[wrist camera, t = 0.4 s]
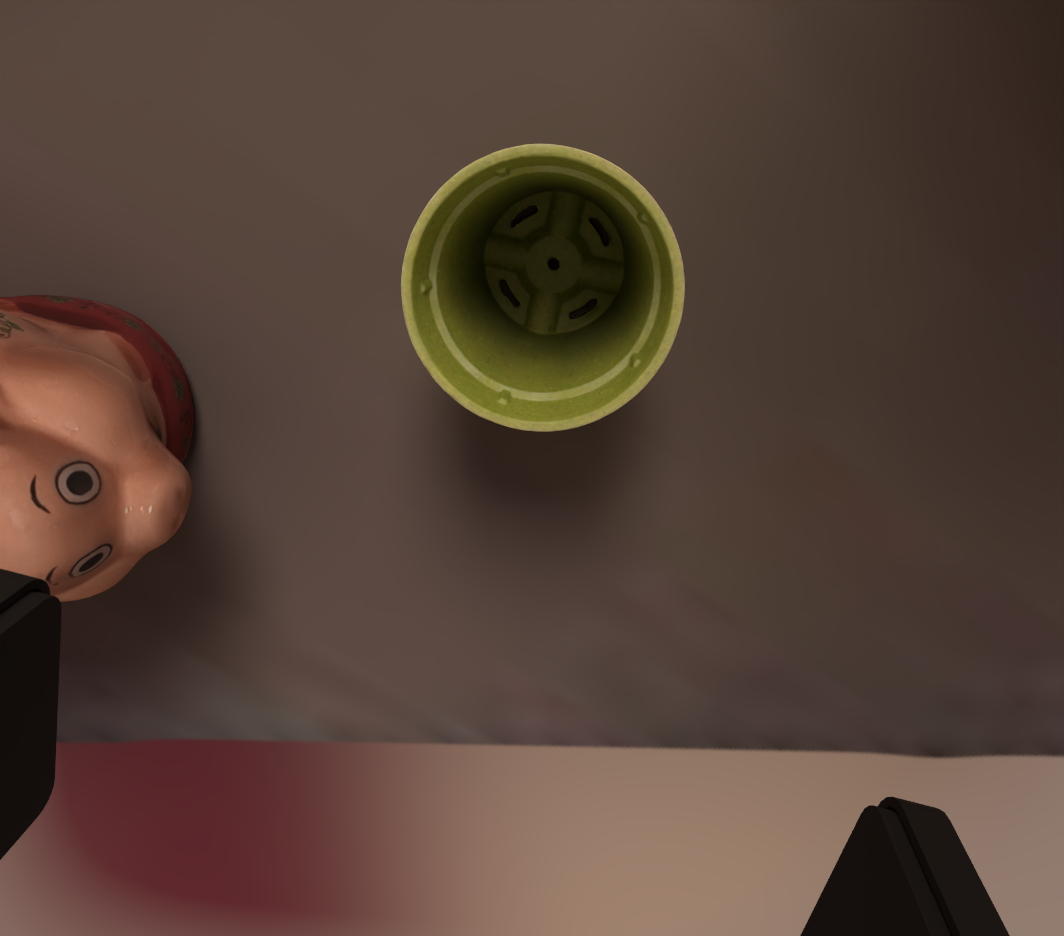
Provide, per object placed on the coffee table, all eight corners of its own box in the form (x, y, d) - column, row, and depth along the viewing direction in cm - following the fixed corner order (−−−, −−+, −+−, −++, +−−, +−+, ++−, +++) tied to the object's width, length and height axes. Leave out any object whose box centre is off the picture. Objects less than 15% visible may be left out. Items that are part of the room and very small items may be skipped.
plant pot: (709, 291, 36) (739, 330, 27) (530, 411, 38) (509, 480, 30) (584, 97, 33) (576, 77, 25) (403, 238, 36) (343, 262, 28)
